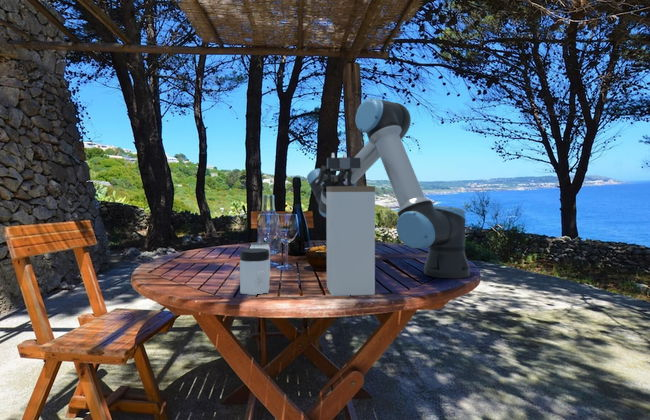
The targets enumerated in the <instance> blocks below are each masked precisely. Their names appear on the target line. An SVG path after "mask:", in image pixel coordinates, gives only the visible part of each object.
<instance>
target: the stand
mask: <svg viewBox="0 0 650 420" xmlns="http://www.w3.org/2000/svg"><path fill="white" fill-rule="evenodd" d="M325 218H326V226H325V227H326V288H327V289H328V292H329V294H330V296H331V295H332V296H331V297H343V296H345V297H346V296H350V295H351V296H375V295H376V290H375V289H376V287H375V286H376V283H375V281H376V278H375V277H376V276H375V275H376V271H375V270H376V186H374V185H371V186H370V185H366V186H365V185H364V186H363V185H362V186H361V185H359V186H357V185H356V186H330V187H326V217H325Z"/></svg>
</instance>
